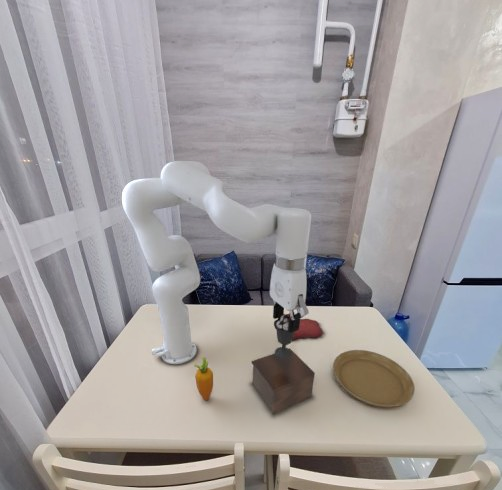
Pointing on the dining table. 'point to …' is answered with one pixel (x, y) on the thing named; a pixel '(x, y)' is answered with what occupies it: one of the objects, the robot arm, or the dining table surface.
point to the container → (283, 393)
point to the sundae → (283, 336)
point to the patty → (308, 329)
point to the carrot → (204, 380)
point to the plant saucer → (373, 378)
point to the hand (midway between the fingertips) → (285, 323)
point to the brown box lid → (282, 370)
